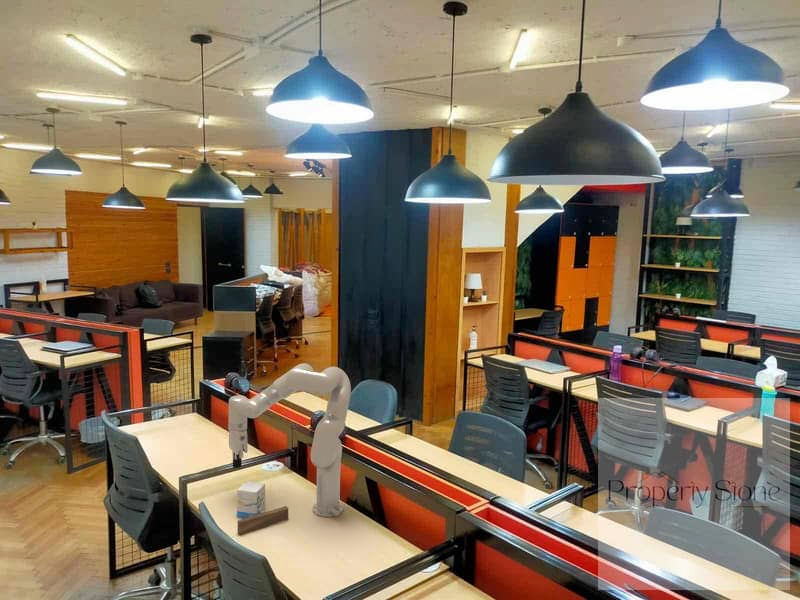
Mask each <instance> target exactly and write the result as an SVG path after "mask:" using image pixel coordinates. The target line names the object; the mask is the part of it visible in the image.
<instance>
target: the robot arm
mask: <svg viewBox="0 0 800 600" xmlns="http://www.w3.org/2000/svg"><path fill="white" fill-rule="evenodd" d="M297 391H299V392H303V393H304V392H305V393H309V394H315V395H321V396H323V395H329V396H328V399H327V404H326V409H325V413H324V415H323V417H322V418H321V419H320V420H319V422H318V423H317V425H316V427H315V430H314V434H313V439H312V440H313V441H312V444H311V450H310V460H311V463H312V464H313V465H314V467H316V503H314V504H313V506H312V513H314V515H315V516H318V517H323V518H332V517H338V516H339V515H340V514H342V513H343V512H344V504H343V503H341V501H340V499H341V497H340V495H341V493H340V491H341V465H342V463H341V462H342V454H343V453H342V452H343V445H342V441H341V439H340V438H339V437H340V436H341V434H342V433H343V431H344V429H345V425H346V420H347V416H348V410H349V404H350V400H351V399H350V398H351V391H352V389H351V381H350V379H349V376H348V375H347V374H346V372H345V371H344V370H343V369H341V368H340V367H338V366H330V367H326V368H325V369H324V370H322V371H320V372H316V371H315V370H314V369H313V367H312V366H311V364H309V363H305V362H304V363H299V364H297V365H295V366H294V367H293V368H291V369H290V370H288V371H287V372H286V373H284V374H283V375H281V376H280V377H278V378H277V379H276V380H275V379H274V381H273V382H272V384H271V385H270V386H268V387H267V388H265V389H264V390H263V391H261V392H259V393H258V394H256V395H255V396H253V397H252V398H250V399H248V398H247V396H245V395H239V394H238V395H233V396H230V398H229V399H228V421H227V422H228V428H227V429H228V431H229V432H228V448H229V449H230V450H231V452H232V453H231V454H232V468H233V469H239V468H241V467H242V463H243V462H242V459H243V458H244V453H246V454H247V453H248V451H249V450H248V448H249V447H248V445H249V444H248V433H247V432H248V431H247V429H248V418H249V419H255V418H257V417H259V416H260V415H262V414H263V413H264V412H265V411H267V410H268V409H270V408H271V407H272V406H274V405H276V403H278V402H280V401H281V400H284V399H287V398H288V397H290V396H292V395H293V394H294V393H296V392H297Z"/></svg>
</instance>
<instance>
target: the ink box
mask: <svg viewBox="0 0 800 600" xmlns="http://www.w3.org/2000/svg"><path fill="white" fill-rule="evenodd" d="M236 494H237V495H236V497H237V498H236V501H237V503H236V505H237V507H236V509H237V510H236V517H237V518H241V519H245V518H248V517H251V516H254V515H258V514H261V513H264V512H265V511H264V510H266V483H263V482H257V481H248V480H247V481H246V480H245V482H244V483H243V484H242V485H240V487H239V488H238V489H237V492H236ZM263 511H264V512H263Z"/></svg>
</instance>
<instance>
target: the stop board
mask: <svg viewBox="0 0 800 600" xmlns="http://www.w3.org/2000/svg"><path fill="white" fill-rule="evenodd" d="M288 520H289V507H288V506H287V505H284V506H281V507H278V508H275V509H271V510H268V511H264V512H263V513H261V514H258V515H254V516H251V517H248V518H241V519H238V520H237V534H238V536H242V535H246V534H249V533H252V532H255V531H257V530H261V529H263V528H267V527H271V526H273V525H277V524H279V523H282V522H286V521H288Z"/></svg>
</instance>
